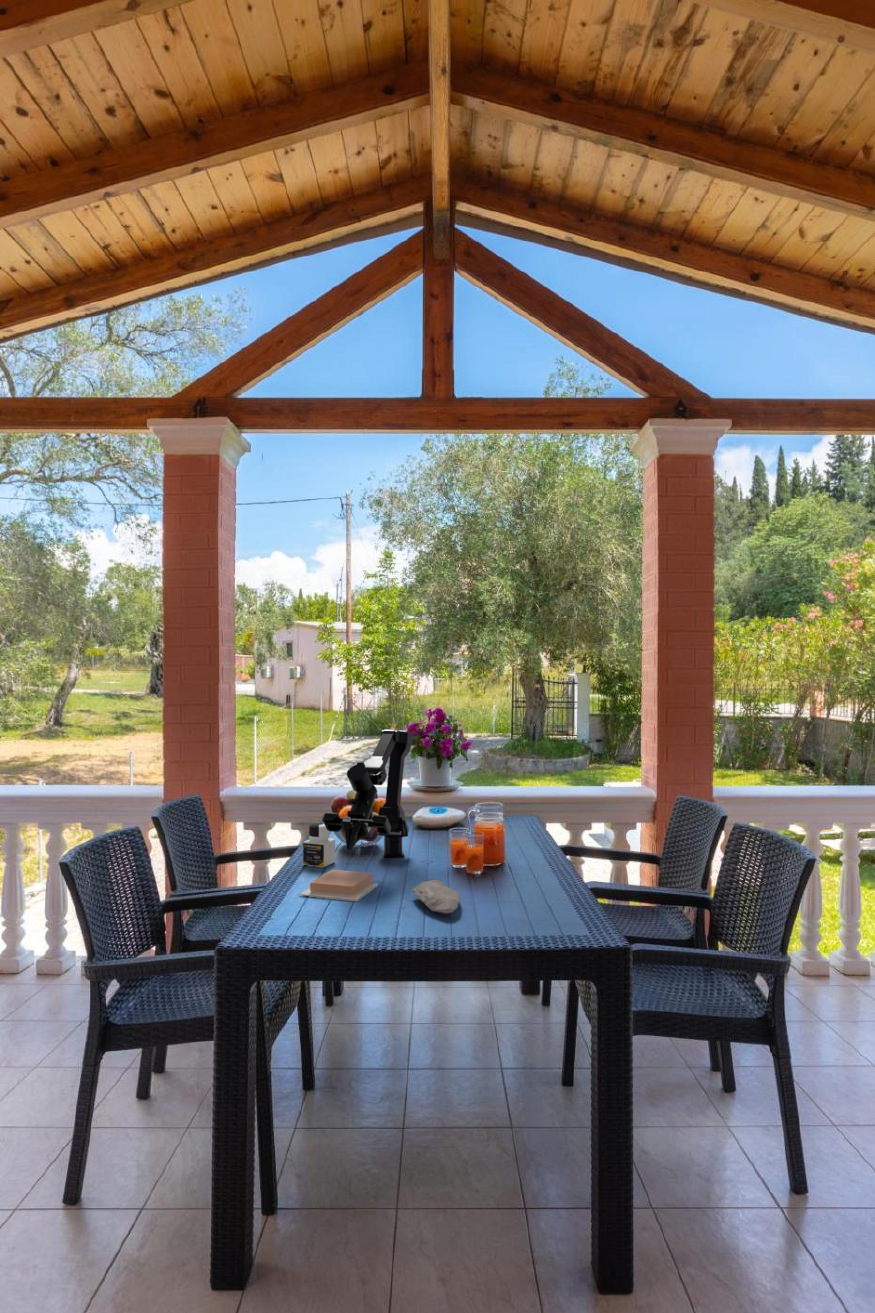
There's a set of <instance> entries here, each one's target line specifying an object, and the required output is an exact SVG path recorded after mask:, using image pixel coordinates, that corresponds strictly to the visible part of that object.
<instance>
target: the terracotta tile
mask: <svg viewBox="0 0 875 1313" xmlns="http://www.w3.org/2000/svg"><path fill="white" fill-rule="evenodd" d="M373 875H374V874H373V872H366V871H352V870H351V871H350V870H341V869H340V870H338V869H331V870H329V871H328V872H326V873H324V874H323V875H321V876H320V877H318V878H316V879H314V880H312V881H310V883H309V886H310V887H309V888H310V891H311V892H314V893H325V894H337V895H348V896H353V895H355V894H356V893H357V892H359V891H360V890H362V889H363V888H364V887H366V886H367V885H369V884H370V883H372V882H373V881H374V880H373V879H374V877H373Z"/></svg>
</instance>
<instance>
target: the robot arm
mask: <svg viewBox="0 0 875 1313" xmlns="http://www.w3.org/2000/svg"><path fill="white" fill-rule="evenodd" d="M413 741H414V736H413V733H411V732H410V731H409V730H407V729H404V730H401V729H390V728H388V729H387V728H386V729H383V730H381V733H380V738H379V740H378V742H377V745H376V746H375V749H374V750H373V753H372V754H371V757H370V758H368V759H366V760H365V761H357V762H356V764H355V765H353V766H351V767H350V768H349V769H347V771H346V776H347V779H348V782H349V784H350V786H351V788H352V790H353V791H354V792H355V795H354V798H351V799H350V800H351V801H350V802H351V807H350V810H347V813H346V814H347V815H346V816H342V818H341V816H340V814H339V812H329V811H327V812H325V813H324V814H323V815H322V818H321V821H322V823H324V825H325V827H326V829H327V830H328V831H329V832H337V833H339V832H340V831H342V830H343V833H344V835H345V847H346V850H347V851H351V850H352V849H353V848H354V847H355V845H356V844H357V843H358V842H359V841H360V840H362V839H363V840H370V839H371V838H372V837H373V835H374V833H375V829H376V828H377V829H376V832H377V836H378V837H383V851H381V852H382V857H383V858H397V857H398V858H399V857H400V858H403V857H405V853H404V851H403V838H405V837H409V832H410V831H409V830H410V828H409V825H408V823H407V820H406V818H405V816H406V815H405V811H404V809H403V807H402V805H401V802H402V801H401V799H402V787H403V779H404V778H403V777H404V766H405V758H406V757H407V756H408V755H409V753H410V752H411V747H412V745H413ZM388 761H389V762H388ZM387 763H388V773H387V769H386V765H387ZM386 780H387V783H386V784H387V785H386V794H385V801H384V802H385V803H384V804H383V805H382V806H380V807H379V809H378V815H376V814H374V815H373V813H374V811H373V807H374V803H375V799H376V800H377V799H378V788H377V787H376V786H383V785H384V783H385V782H386Z"/></svg>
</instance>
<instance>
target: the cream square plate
mask: <svg viewBox="0 0 875 1313" xmlns="http://www.w3.org/2000/svg"><path fill="white" fill-rule="evenodd" d="M378 886H379V883H372V882H371V883H370V884H369V885H367V886H366V887H364V888H363V889H362V890H360V891H359V892H357V893H356V894H355V895H353V896H348V895H337V894H325V893H314V892H311V891H310V887H308V888H306V889H305V890H304V891H302V892H300V893H299V895H302V896H309V897H308V898H311V897H316V898H315V899H322V898H325V900H334V899H335V901H337V900H338V901H347V902H356V903H357V902H359V901H360V900H361V899H363V898H364V897H365V896H366V895H368V894H369V893H371V892H372V891H373V890H374V889H377V887H378Z"/></svg>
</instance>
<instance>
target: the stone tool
mask: <svg viewBox="0 0 875 1313" xmlns="http://www.w3.org/2000/svg"><path fill="white" fill-rule="evenodd" d="M411 892H412V893H413V894H415V896H416V899H417V900H419V901H421V903H423V904H424V905H425V906H426V907H427V908H428V909H429V910H431V912H433V913H435V912H436V913H438V914H443V915H444V914H445V915H448V914H452V913H453V912H455V911H456V910H457V909H458V907H459V906H458V905H459V904H460V903H461V902H460V900H461V895H460V893H459V892H458V891H456V890H454V889H452V888H451V887H448V886H446V885H444V884H443V882H442V880H441V881H440V880H438V879H432V880H427V881H420V884H418V885H417V886H415V887H414V888H412V889H411Z"/></svg>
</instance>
